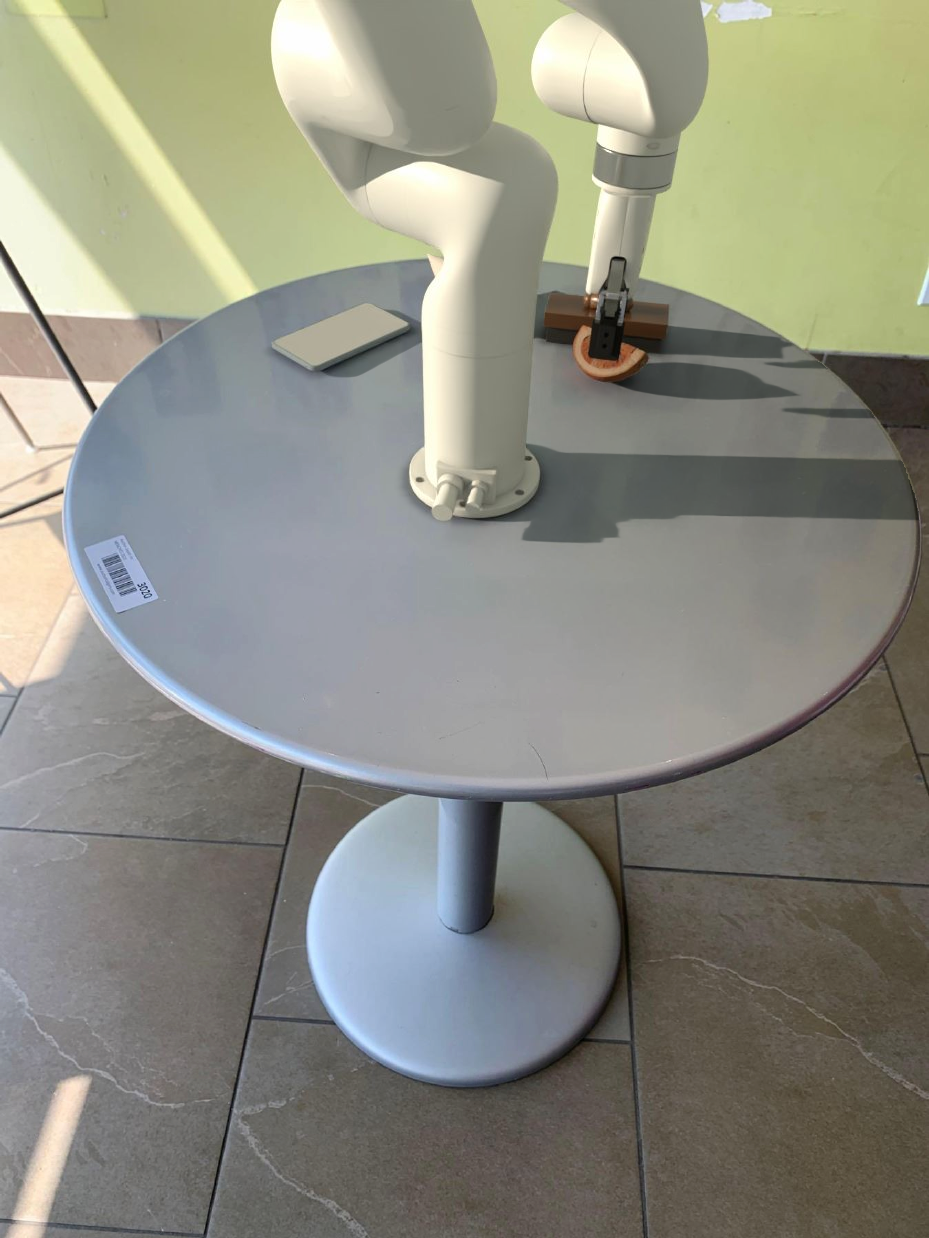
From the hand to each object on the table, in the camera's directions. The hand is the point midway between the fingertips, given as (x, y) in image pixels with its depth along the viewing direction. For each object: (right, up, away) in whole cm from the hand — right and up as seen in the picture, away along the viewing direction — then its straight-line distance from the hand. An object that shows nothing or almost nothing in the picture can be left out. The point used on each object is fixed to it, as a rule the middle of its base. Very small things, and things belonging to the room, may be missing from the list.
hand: (606, 336), depth 96 cm
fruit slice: (+1, -3, +5) cm, 6 cm away
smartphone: (-29, +3, +10) cm, 31 cm away
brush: (+1, +3, +11) cm, 11 cm away
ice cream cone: (-16, +8, +15) cm, 23 cm away
